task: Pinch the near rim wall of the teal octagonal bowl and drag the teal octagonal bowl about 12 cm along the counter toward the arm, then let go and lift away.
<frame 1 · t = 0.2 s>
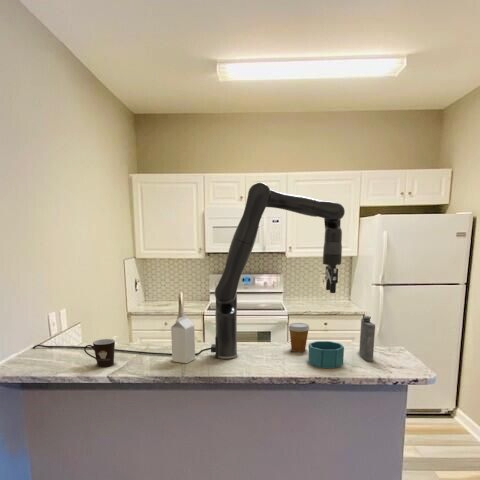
hand: (330, 291, 172), 29 cm above the countertop, tool pointing down, fingers open, 8 cm apart
teal octagonal bowl: (325, 362, 169), on the countertop
milk carton: (183, 360, 174), on the countertop
disposable coffee cup: (298, 350, 188), on the countertop
coffee mug: (102, 365, 168), on the countertop
flask: (364, 357, 178), on the countertop
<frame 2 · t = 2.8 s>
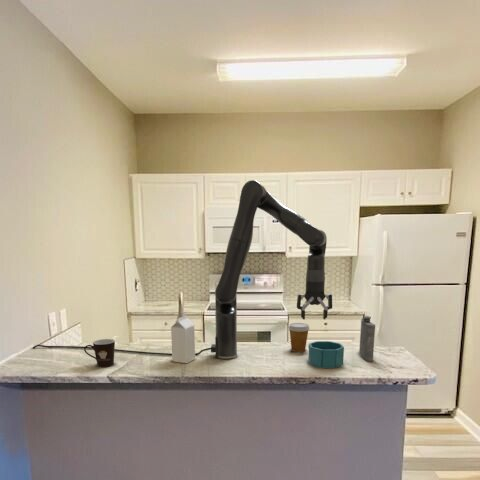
hand: (313, 319, 167), 19 cm above the countertop, tool pointing down, fingers open, 8 cm apart
nothing on the countertop moved.
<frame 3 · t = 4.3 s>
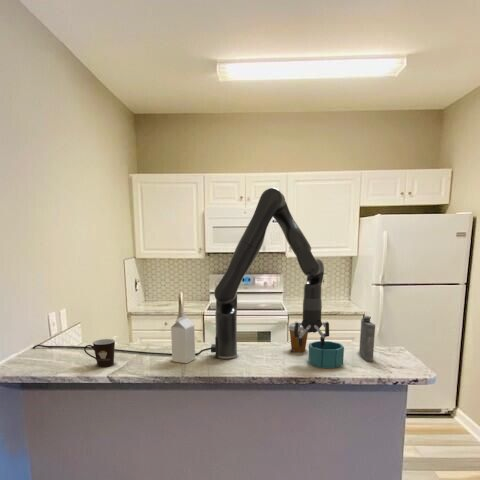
hand: (311, 346, 168), 7 cm above the countertop, tool pointing down, fingers open, 8 cm apart
nothing on the countertop moved.
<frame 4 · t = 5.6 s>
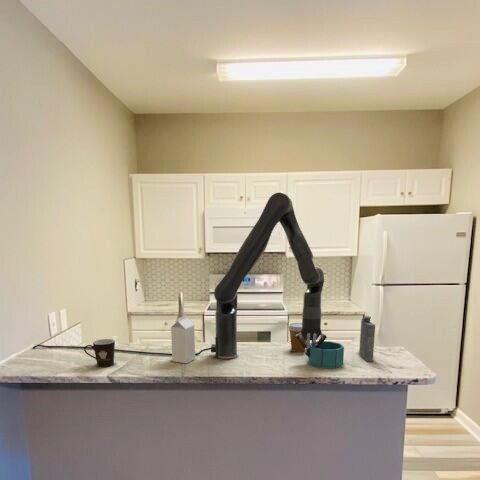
hand: (310, 356, 169), 3 cm above the countertop, tool pointing down, fingers closed on teal octagonal bowl
teal octagonal bowl: (325, 362, 169), on the countertop, touching gripper
everything else where it was.
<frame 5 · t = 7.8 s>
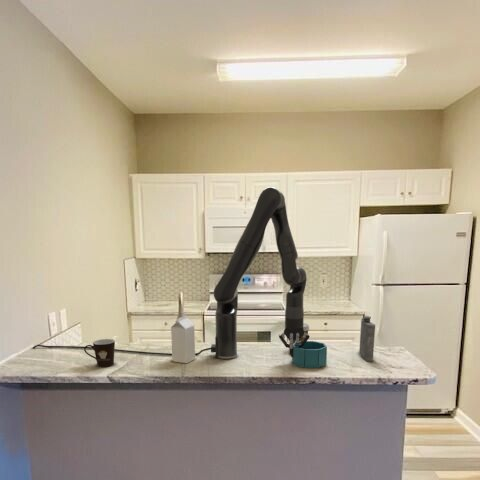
hand: (293, 356, 169), 3 cm above the countertop, tool pointing down, fingers closed on teal octagonal bowl
teal octagonal bowl: (308, 362, 170), on the countertop, touching gripper
everything else where it was.
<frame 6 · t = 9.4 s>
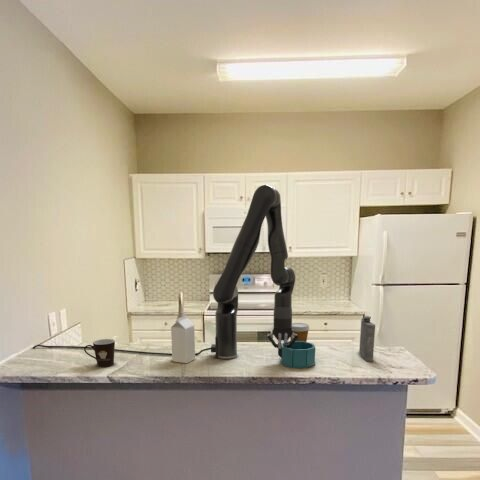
hand: (282, 356, 169), 3 cm above the countertop, tool pointing down, fingers closed
teal octagonal bowl: (297, 362, 170), on the countertop, touching gripper
everything else where it was.
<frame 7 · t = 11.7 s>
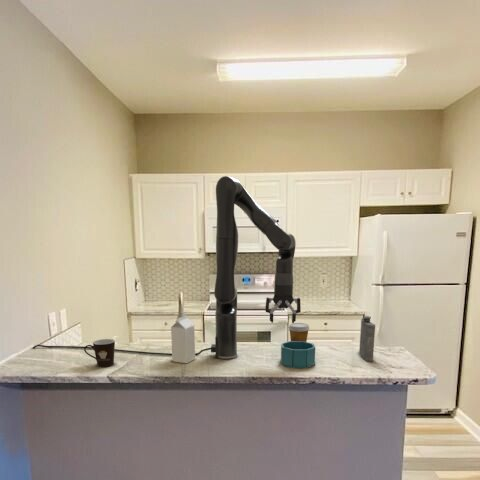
hand: (282, 322, 167), 17 cm above the countertop, tool pointing down, fingers open, 8 cm apart
teal octagonal bowl: (297, 362, 170), on the countertop
everything else where it was.
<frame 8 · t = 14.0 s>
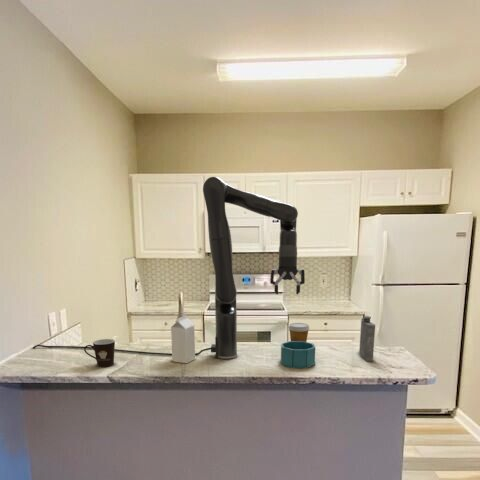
hand: (287, 294, 171), 28 cm above the countertop, tool pointing down, fingers open, 8 cm apart
nothing on the countertop moved.
at the end: teal octagonal bowl inside the target area (0.8 cm from its centre), on the countertop; teal octagonal bowl tilted 0°; the gripper is holding nothing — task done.
